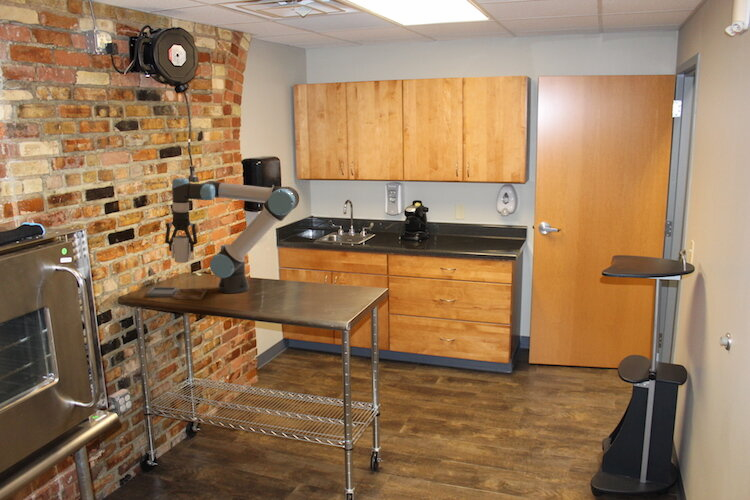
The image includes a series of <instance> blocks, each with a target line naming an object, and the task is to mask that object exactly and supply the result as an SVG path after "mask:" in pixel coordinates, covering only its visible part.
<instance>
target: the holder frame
mask: <svg viewBox="0 0 750 500" xmlns="http://www.w3.org/2000/svg"><path fill="white" fill-rule="evenodd" d="M181 293H202V294H201V295H180V294H181ZM207 294H208V288H178V291H177V292H176V293H175V294H174V295H173V297H172V299H173V300H203V299H204V297H205V296H206V295H207Z"/></svg>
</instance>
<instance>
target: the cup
mask: <svg viewBox="0 0 750 500" xmlns="http://www.w3.org/2000/svg"><path fill="white" fill-rule="evenodd" d="M172 244H174V263H177V264H178V263H179V264H180V263H181V264H182V263H183V264H185V263H188V262H189V261H190V259H189V245H190V243H189V238H187V236H186V234H185V235H182V234H181V235H176V236H175V238H174V237H173V243H172Z"/></svg>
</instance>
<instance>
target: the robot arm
mask: <svg viewBox="0 0 750 500" xmlns="http://www.w3.org/2000/svg"><path fill="white" fill-rule="evenodd" d="M171 181H172V183H171V184H172V185H171V191H172V193H171V194H172V195H171V196H172V221H171V222H166V223H165V225H166V232H165V240H164V243H165V244H167V245H168V249H169V250H168V251H169V252H171V257H170V258H171V259H175V254H174V244H173V237H174V238H175V236H177V233H178V232H179V231H183V232H184V233H185V236H187V238H189V258H188V259H189V260H191V259H192V255H193V254H192V253H193V252H194V248H195V247H194V246H195V245H197V244H198V238H197V231H196V230H197V229H196V228H197V227H196V226H197V223H195V222H193V223H192V222H191V221H190V200H198V201H213V200H214V199H215V198H217V199H218V198H219V199H229V200H235V201H236V200H238V201H244V202H246V201H247V202H252V203H253V202H255V203H261V204H262V203H263V204H262V208H263V209H262V210H261V211H260V212H259V213H258V214H257V215H256V216H255V218H254V219H253V220H252V221H250V223H249V224H248V225H247V226H246V227H245V228H244V230H242V232H240V234H239V235H238V236H237V237H236V238H235V239H234V240H233V242H231V244H222V245H221V246H220V251H219V252H217V254H215V255H214V256H213V257H212V258H211V260H210V263H209V267H210V271H211V273H212V274H213V275H215V276H216V277H218V278H219V282H218V285H217V290H218V292H220V293H224V294H239V293H244V292H247V291H249V288H250V287H249V282H248V279H247V277H246V272H245V271H246V262H245V261H246V259H245V258H246V257H245V256H246V255H247V254H248V253H249V252H250V251H251V250H252V248H254V247H255V246H256V244H258V242H260V241H261V240H262V238H263V237H264V236H265V235H266V234H267V233H268V231H270V230H271V229H272V227H273V226H274V225H275V224H277V222H282V221H284V219H285V218H286V217H287V216H288V215H289V214H290V213H291V212H292V211H293V210H294V209H296V208H297V206H298V205H299V203H300V196H299V193H298V191H297V190H296V189H295V188H293V187H290V186H272V187H267V186H257V185H245V184H237V183H230V182H229V183H228V182H227V183H226V182H219V181H218V182H217V181H216V180H209V181H205V182H202V183H191V182H190V180H189V179H188V178H184V177H180V178H179V177H177V178H173V179H172V180H171ZM171 227H174V229H173V232H172V234H171ZM189 227H190V228H191V231H192V232H191V233H192V236H191V233H190V231H189ZM170 234H171V238H170Z"/></svg>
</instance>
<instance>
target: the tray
mask: <svg viewBox="0 0 750 500" xmlns="http://www.w3.org/2000/svg"><path fill="white" fill-rule="evenodd" d="M178 290H179V286H152V287H151V289H149V290H148V291H147V292H146V298H173V295H174V294H175V293H176V292H177V291H178Z"/></svg>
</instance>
